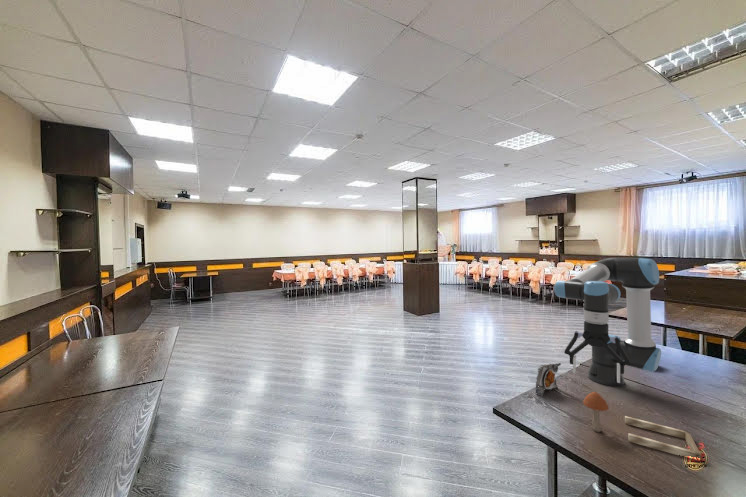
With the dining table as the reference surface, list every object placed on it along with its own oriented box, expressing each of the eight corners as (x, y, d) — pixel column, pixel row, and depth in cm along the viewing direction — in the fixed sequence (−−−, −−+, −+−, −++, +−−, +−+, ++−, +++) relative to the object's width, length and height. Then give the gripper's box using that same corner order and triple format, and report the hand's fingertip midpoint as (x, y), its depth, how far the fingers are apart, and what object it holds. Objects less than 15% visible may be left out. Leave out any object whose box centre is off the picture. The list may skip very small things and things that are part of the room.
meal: (544, 398, 140) (544, 370, 140) (535, 394, 144) (535, 367, 143) (561, 389, 148) (561, 363, 148) (552, 386, 152) (552, 360, 151)
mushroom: (583, 421, 122) (584, 385, 121) (608, 429, 116) (609, 391, 116) (582, 431, 115) (582, 392, 115) (608, 439, 110) (608, 399, 110)
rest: (628, 443, 109) (628, 434, 108) (624, 423, 120) (624, 415, 120) (700, 464, 98) (701, 454, 98) (689, 440, 110) (689, 432, 110)
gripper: (557, 319, 119) (556, 372, 120) (640, 329, 105) (640, 389, 105) (558, 315, 125) (558, 366, 126) (637, 324, 111) (637, 381, 111)
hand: (595, 377), depth 115 cm, fingers open, 13 cm apart
